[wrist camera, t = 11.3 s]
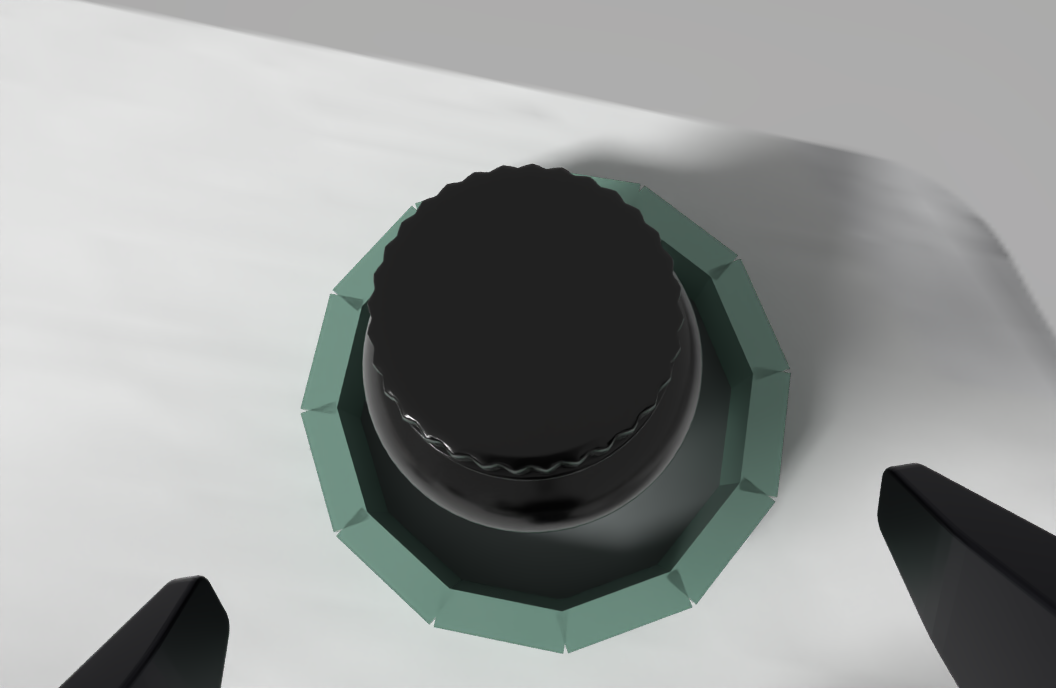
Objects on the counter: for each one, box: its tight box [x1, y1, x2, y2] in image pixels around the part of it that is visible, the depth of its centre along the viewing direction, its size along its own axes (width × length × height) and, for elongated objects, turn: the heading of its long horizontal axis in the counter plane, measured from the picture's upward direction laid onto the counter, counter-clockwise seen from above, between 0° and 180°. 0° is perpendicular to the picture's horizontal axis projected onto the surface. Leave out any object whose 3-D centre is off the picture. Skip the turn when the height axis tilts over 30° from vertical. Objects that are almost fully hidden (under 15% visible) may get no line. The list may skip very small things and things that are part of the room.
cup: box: [301, 173, 791, 654], centre depth 21 cm, size 13×13×3 cm
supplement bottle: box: [362, 164, 703, 533], centre depth 16 cm, size 7×7×12 cm
